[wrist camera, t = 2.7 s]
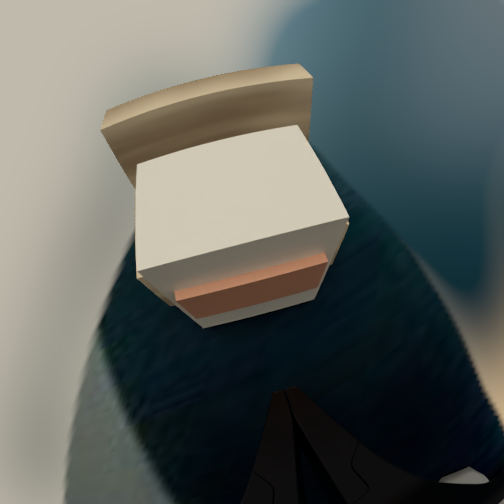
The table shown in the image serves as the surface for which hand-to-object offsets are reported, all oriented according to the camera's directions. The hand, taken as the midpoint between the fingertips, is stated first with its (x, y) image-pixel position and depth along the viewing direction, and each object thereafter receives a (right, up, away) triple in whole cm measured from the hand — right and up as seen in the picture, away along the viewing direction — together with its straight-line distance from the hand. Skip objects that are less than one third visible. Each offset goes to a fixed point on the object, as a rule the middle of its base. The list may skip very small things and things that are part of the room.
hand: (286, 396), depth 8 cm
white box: (-1, +3, +9) cm, 10 cm away
